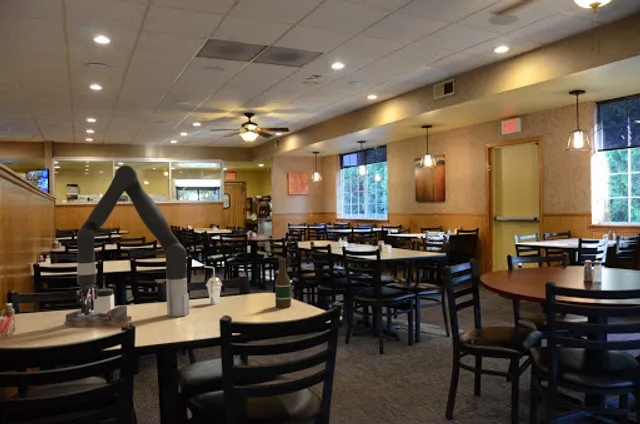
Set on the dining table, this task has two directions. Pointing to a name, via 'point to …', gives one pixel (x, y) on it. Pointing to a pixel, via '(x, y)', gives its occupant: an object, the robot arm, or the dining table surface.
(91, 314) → the red ball joystick
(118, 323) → the bench
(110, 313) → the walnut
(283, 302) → the beer bottle
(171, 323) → the dining table surface
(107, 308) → the jar
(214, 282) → the cup with straw
